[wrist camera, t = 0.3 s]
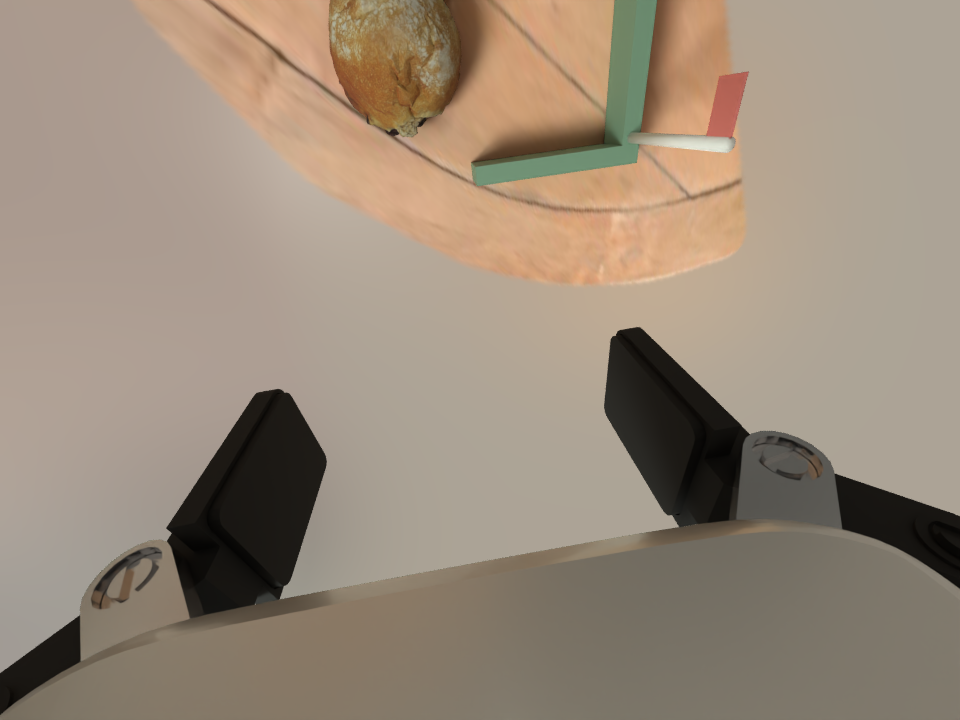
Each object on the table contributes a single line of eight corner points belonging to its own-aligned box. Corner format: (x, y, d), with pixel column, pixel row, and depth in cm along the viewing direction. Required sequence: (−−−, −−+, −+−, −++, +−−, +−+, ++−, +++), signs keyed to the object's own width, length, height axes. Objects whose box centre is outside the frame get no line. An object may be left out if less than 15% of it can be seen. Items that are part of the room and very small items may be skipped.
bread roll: (465, 53, 32) (492, -24, 24) (431, 165, 32) (447, 124, 25) (354, -14, 29) (345, -126, 21) (319, 112, 29) (298, 47, 22)
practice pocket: (437, -135, 23) (443, -468, 10) (648, -160, 24) (916, -512, 11) (473, 180, 34) (498, 215, 21) (617, 159, 35) (730, 180, 21)
